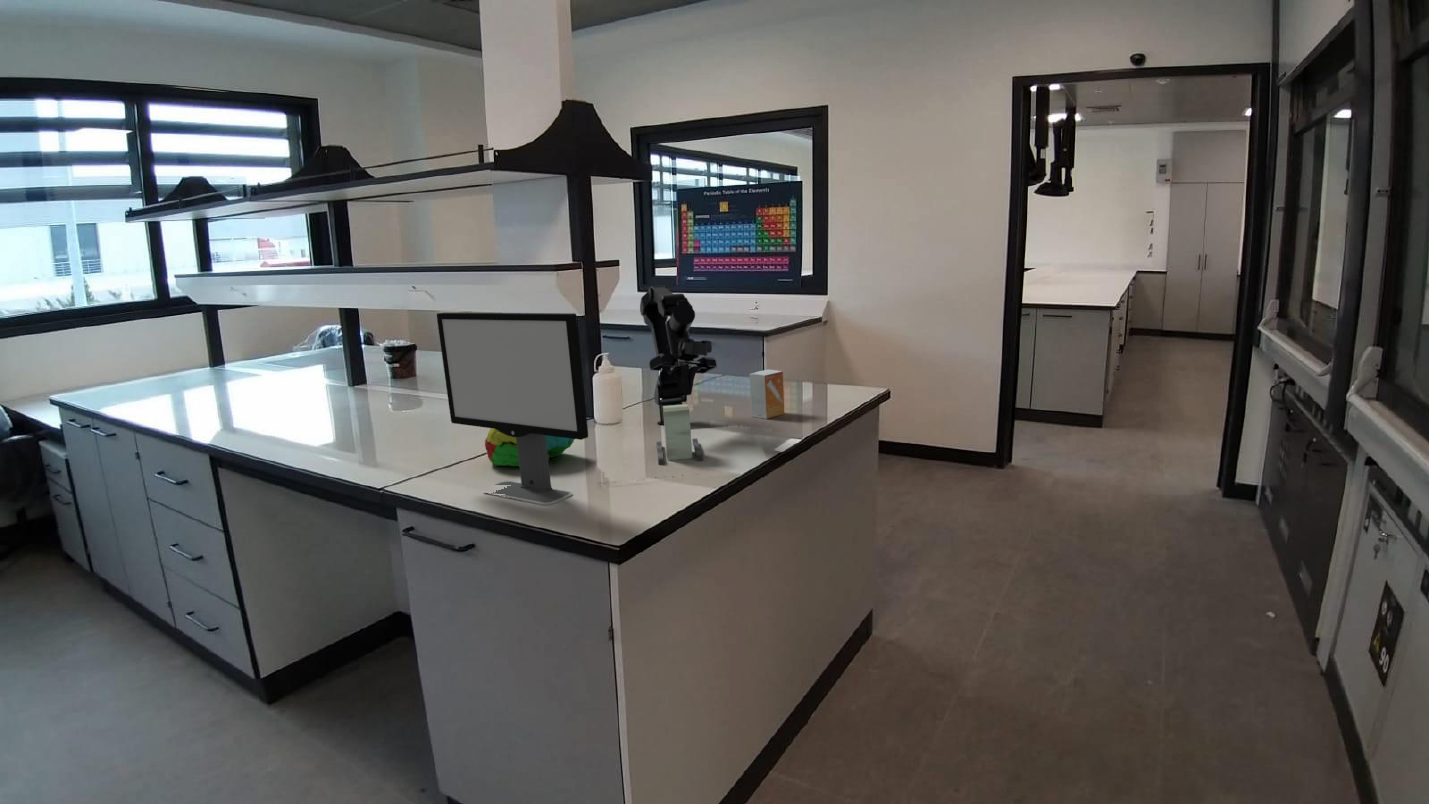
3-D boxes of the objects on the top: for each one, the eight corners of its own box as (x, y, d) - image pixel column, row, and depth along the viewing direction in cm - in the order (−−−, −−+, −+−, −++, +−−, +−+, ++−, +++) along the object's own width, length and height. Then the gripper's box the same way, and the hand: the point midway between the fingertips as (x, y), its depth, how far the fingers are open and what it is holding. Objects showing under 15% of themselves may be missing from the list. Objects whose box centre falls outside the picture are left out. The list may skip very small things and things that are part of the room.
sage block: (666, 453, 192) (662, 406, 190) (690, 451, 193) (687, 404, 190) (667, 460, 186) (663, 411, 184) (692, 458, 187) (689, 409, 184)
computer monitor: (451, 487, 181) (427, 314, 172) (480, 476, 188) (458, 310, 179) (582, 513, 158) (561, 315, 150) (609, 500, 165) (591, 310, 157)
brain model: (592, 449, 204) (584, 393, 201) (557, 472, 186) (548, 411, 183) (514, 452, 211) (505, 398, 208) (473, 473, 194) (462, 415, 191)
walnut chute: (654, 452, 199) (653, 442, 199) (700, 448, 200) (700, 438, 200) (655, 470, 184) (654, 459, 183) (706, 466, 185) (705, 455, 184)
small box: (766, 419, 226) (764, 375, 223) (750, 416, 231) (748, 373, 228) (785, 413, 232) (783, 370, 229) (769, 411, 236) (767, 368, 233)
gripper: (669, 324, 196) (680, 383, 192) (724, 330, 208) (735, 386, 204) (644, 340, 203) (653, 397, 200) (698, 345, 216) (708, 399, 212)
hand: (689, 394), depth 204 cm, fingers closed
